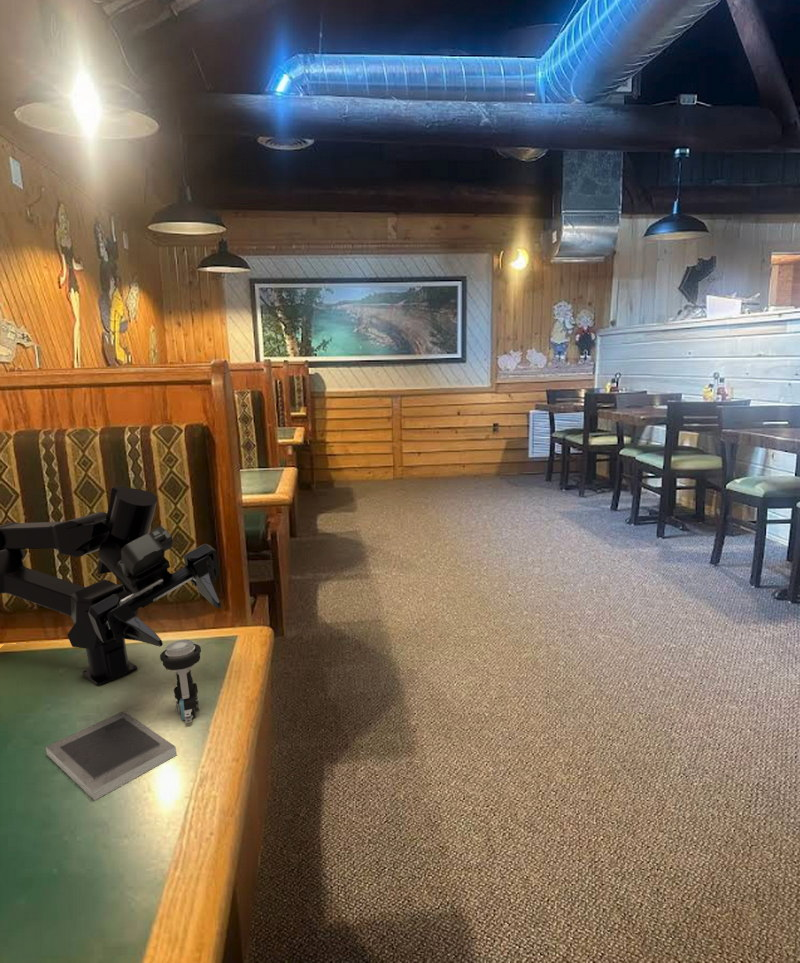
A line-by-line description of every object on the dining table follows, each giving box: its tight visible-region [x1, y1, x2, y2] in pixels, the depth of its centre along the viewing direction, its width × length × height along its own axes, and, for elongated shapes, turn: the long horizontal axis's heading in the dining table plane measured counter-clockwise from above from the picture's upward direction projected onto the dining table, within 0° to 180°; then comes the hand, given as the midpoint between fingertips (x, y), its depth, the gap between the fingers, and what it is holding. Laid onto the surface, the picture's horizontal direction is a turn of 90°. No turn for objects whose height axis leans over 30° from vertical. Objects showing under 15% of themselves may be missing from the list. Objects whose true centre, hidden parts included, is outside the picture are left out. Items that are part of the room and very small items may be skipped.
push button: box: [159, 639, 202, 724], centre depth 83 cm, size 7×5×10 cm
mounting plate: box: [45, 710, 177, 801], centre depth 76 cm, size 14×10×1 cm
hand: (191, 624), depth 83 cm, fingers open, 9 cm apart
